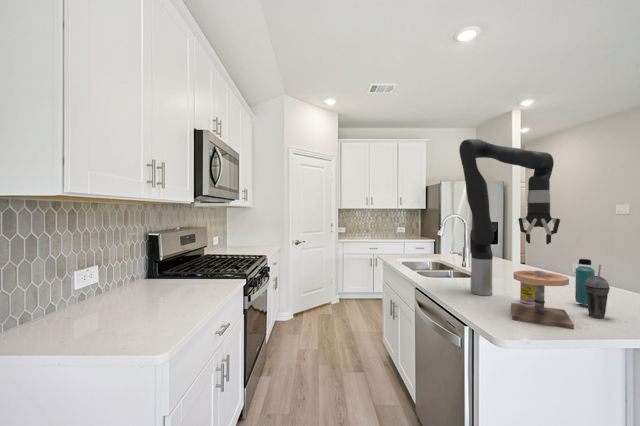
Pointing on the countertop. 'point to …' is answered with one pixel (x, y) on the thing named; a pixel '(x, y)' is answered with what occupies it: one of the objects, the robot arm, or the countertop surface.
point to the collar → (541, 278)
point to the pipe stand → (541, 310)
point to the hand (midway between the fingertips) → (538, 243)
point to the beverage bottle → (583, 280)
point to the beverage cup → (597, 295)
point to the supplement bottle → (527, 293)
